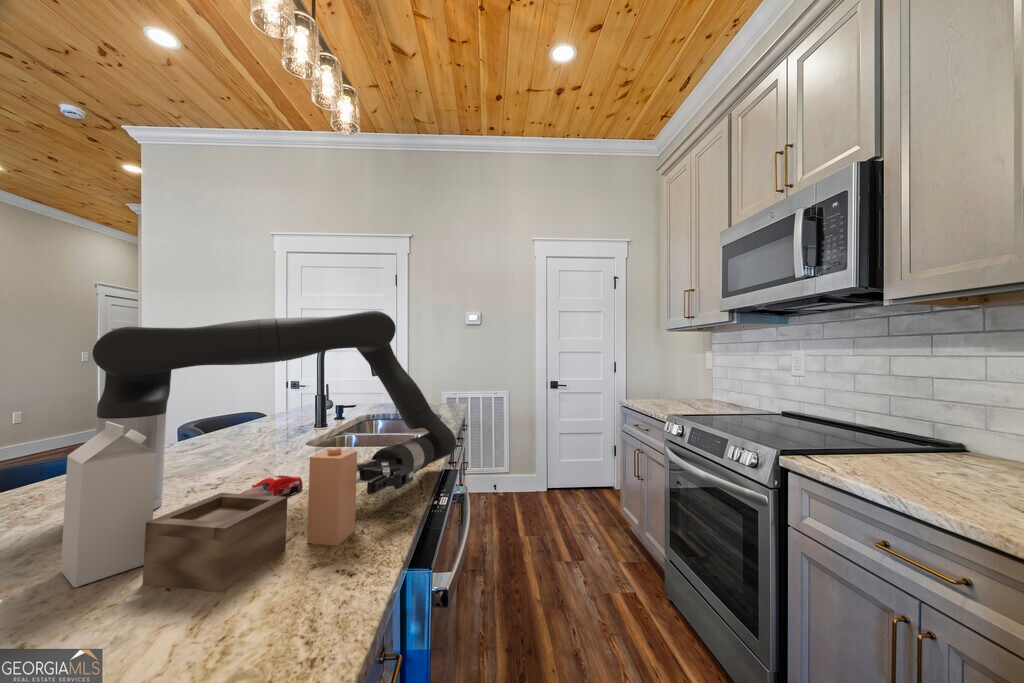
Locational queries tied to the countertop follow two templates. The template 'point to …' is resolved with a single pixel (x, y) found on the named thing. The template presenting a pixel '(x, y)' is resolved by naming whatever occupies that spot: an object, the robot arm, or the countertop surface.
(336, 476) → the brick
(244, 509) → the wooden box
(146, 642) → the countertop surface
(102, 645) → the countertop surface
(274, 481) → the race car
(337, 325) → the robot arm
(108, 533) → the milk carton
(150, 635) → the countertop surface
